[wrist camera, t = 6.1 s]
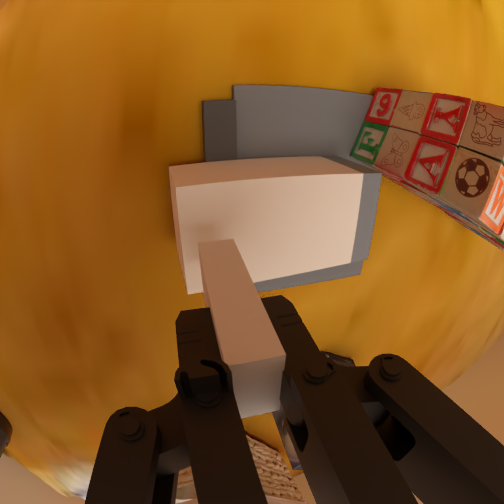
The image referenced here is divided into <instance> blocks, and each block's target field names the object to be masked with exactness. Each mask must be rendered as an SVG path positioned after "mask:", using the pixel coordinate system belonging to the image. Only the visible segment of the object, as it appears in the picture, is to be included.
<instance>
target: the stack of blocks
mask: <svg viewBox="0 0 504 504" xmlns="http://www.w3.org/2000/svg"><path fill="white" fill-rule="evenodd" d="M351 157H352V158H354V159H356V160H358V161H360V162H362V163H364V164H365V165H367V166H369V167H371V168H373V169H374V170H376V171H378V172H380V173H382V175H383V176H385V177H387V178H388V179H390V180H392V181H394V182H395V183H397V184H399V185H401V186H402V187H404V188H405V189H407V190H408V191H410V192H412V193H413V194H415V195H417V196H418V197H420V198H422V199H424V200H426V201H428V202H430V203H432V204H433V205H435V206H437V207H438V208H440V209H442V210H443V211H445V212H446V213H448V216H450V217H451V218H453V219H454V220H456V221H457V222H459V223H460V224H462V225H463V226H465V227H466V228H468V229H470V230H471V231H473V232H475V233H476V234H478V235H479V236H481V237H482V238H484V239H486V240H487V241H488V242H490V243H492V244H493V245H495V246H496V247H498V248H499V249H501V250H502V251H504V107H502V106H498V105H494V104H490V103H485V102H480V101H473V100H472V99H470V98H465V97H460V96H454V95H448V94H440V93H434V94H433V93H427V92H416V91H407V90H402V89H387V88H377V89H376V91H375V94H374V97H373V99H372V102H371V104H370V107H369V110H368V112H367V115H366V117H365V122H364V124H363V126H362V128H361V131H360V133H359V136H358V138H357V141H356V143H355V145H354V148H353V150H352V152H351Z"/></svg>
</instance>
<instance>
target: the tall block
mask: <svg viewBox="0 0 504 504" xmlns="http://www.w3.org/2000/svg"><path fill="white" fill-rule="evenodd" d="M381 176H382V173H380V172H378V171H375V170H373V169H370V168H368V167H365V166H362V165H360V164H357V163H355V162H352V161H349V160H347V159H344V158H341V157H338V156H301V157H273V158H255V159H239V160H226V161H215V162H204V163H195V164H185V165H177V166H169V178H170V189H171V200H172V210H173V219H174V228H175V236H176V244H177V252H178V257H179V261H180V265H181V269H182V273H183V277H184V281H185V285H186V289H187V293H188V295H189V294H195V293H200V292H203V285H202V277H201V268H200V259H199V249H198V243H201V242H209V241H217V240H226V239H234V241H235V243H236V245H237V248H238V250H239V252H240V254H241V257H242V259H243V261H244V263H245V265H246V268H247V270H248V272H249V274H250V277H251V279H252V281H253V283H255V282H260V281H265V280H270V279H275V278H280V277H285V276H290V275H295V274H300V273H305V272H310V271H315V270H319V269H324V268H329V267H334V266H338V265H343V264H348V263H352V262H357V261H361V260H366V259H368V255H369V250H370V245H371V240H372V234H373V229H374V223H375V217H376V211H377V205H378V198H379V191H380V184H381Z"/></svg>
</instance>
